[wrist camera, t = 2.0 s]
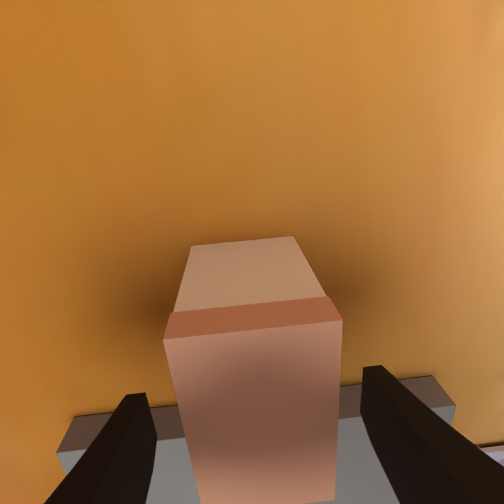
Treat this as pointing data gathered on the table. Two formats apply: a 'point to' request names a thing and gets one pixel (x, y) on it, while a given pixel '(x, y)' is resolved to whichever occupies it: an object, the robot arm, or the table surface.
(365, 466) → the grey flat slab
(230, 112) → the table surface
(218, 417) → the carton
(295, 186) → the table surface
